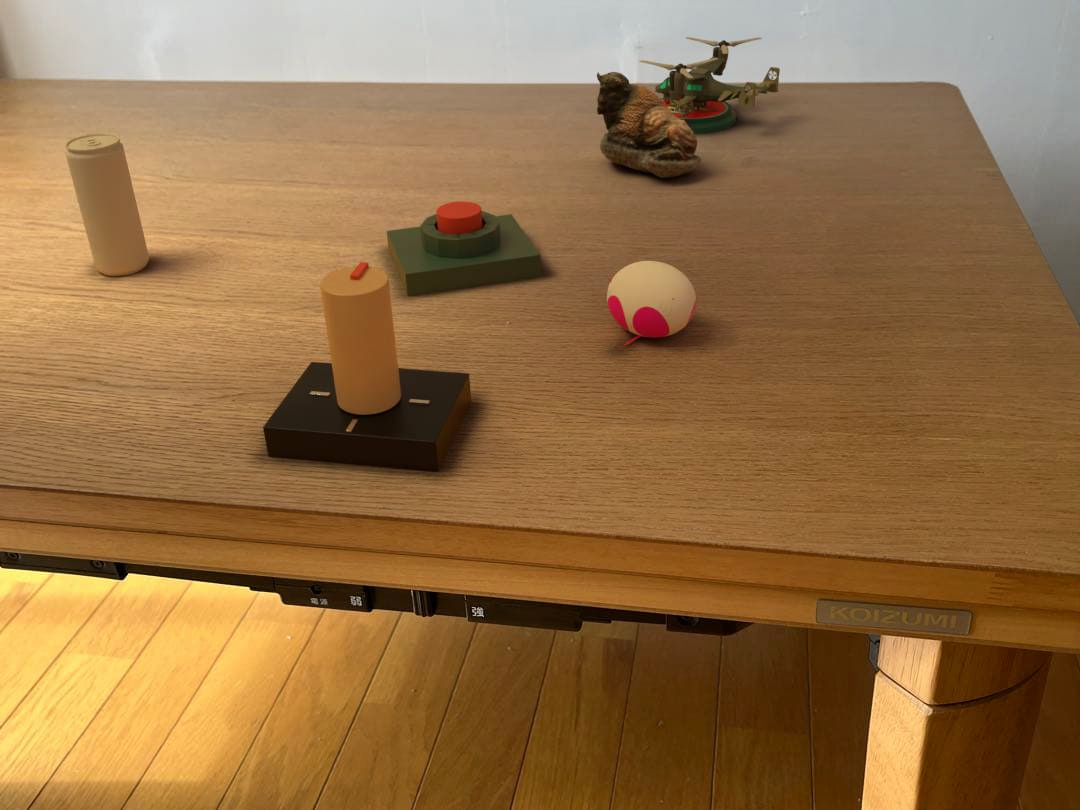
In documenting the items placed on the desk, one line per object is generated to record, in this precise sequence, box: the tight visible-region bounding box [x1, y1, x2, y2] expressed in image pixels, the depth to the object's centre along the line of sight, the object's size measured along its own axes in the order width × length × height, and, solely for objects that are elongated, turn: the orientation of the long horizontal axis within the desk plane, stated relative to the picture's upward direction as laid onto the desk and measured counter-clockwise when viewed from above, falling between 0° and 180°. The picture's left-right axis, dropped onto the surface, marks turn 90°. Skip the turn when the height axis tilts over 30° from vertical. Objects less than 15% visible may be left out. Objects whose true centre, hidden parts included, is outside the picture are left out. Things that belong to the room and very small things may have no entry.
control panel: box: [262, 361, 472, 473], centre depth 77 cm, size 12×9×3 cm
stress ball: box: [606, 260, 697, 349], centre depth 88 cm, size 8×8×7 cm
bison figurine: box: [596, 71, 702, 179], centre depth 118 cm, size 12×7×10 cm, turn 56°
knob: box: [319, 261, 401, 415], centre depth 74 cm, size 4×4×9 cm
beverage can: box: [64, 132, 150, 277], centre depth 100 cm, size 5×5×12 cm
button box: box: [386, 210, 542, 297], centre depth 100 cm, size 12×10×4 cm
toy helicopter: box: [638, 36, 781, 135], centre depth 132 cm, size 20×15×8 cm
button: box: [436, 200, 483, 234], centre depth 99 cm, size 4×4×2 cm
